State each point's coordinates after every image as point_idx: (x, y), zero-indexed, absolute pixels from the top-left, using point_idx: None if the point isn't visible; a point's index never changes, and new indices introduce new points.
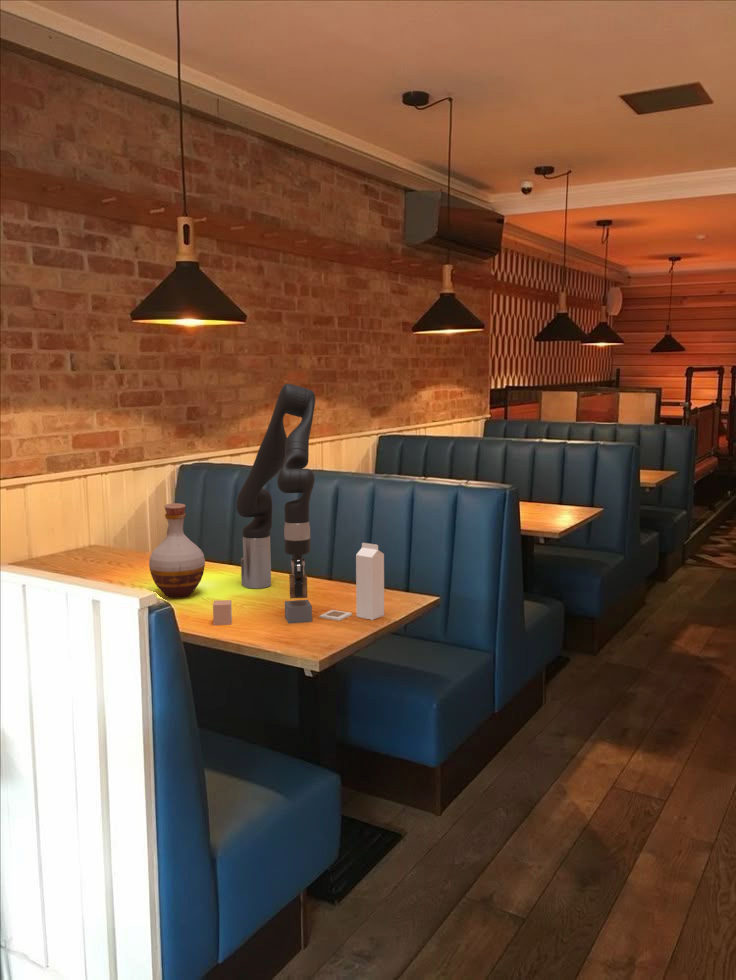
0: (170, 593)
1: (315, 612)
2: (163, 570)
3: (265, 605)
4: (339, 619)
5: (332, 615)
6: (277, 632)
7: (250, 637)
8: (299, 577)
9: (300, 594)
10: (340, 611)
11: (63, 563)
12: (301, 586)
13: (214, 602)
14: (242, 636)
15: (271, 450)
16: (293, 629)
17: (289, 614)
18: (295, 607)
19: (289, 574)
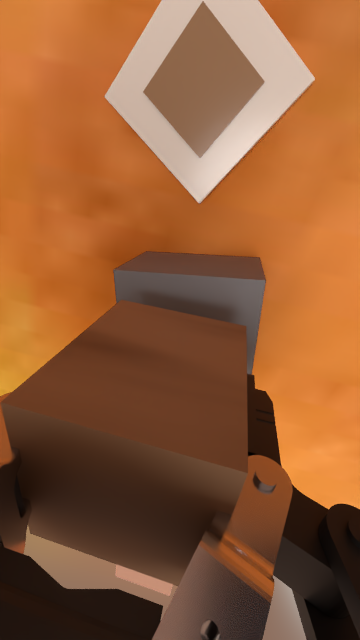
0: None
1: (108, 205)
2: None
3: (4, 366)
4: (313, 81)
5: (231, 120)
6: (345, 421)
7: (353, 497)
8: (195, 529)
9: (265, 400)
10: (150, 37)
11: None
12: (253, 439)
13: (137, 583)
14: (328, 508)
15: None
16: (339, 362)
17: None
18: (250, 371)
19: (35, 534)
